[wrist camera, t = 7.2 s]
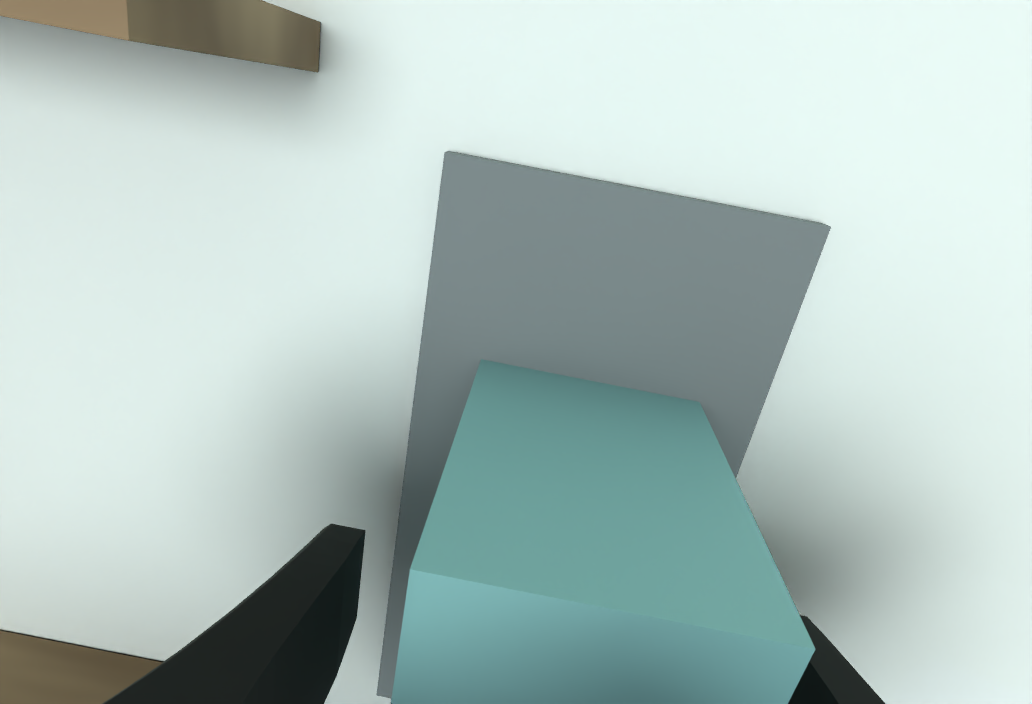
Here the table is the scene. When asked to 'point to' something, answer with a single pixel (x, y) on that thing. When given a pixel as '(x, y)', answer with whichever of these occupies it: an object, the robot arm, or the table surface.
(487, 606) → the block
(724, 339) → the mat
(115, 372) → the table surface
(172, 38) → the frame
